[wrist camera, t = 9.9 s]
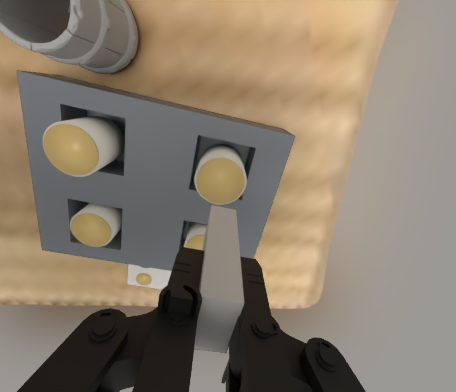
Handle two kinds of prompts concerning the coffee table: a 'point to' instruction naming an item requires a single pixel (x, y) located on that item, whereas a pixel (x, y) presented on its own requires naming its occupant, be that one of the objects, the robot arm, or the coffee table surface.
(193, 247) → the button
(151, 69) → the coffee table surface
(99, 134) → the button
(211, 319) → the robot arm
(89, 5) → the mug
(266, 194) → the console
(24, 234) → the coffee table surface
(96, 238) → the button
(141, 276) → the card
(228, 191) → the button
